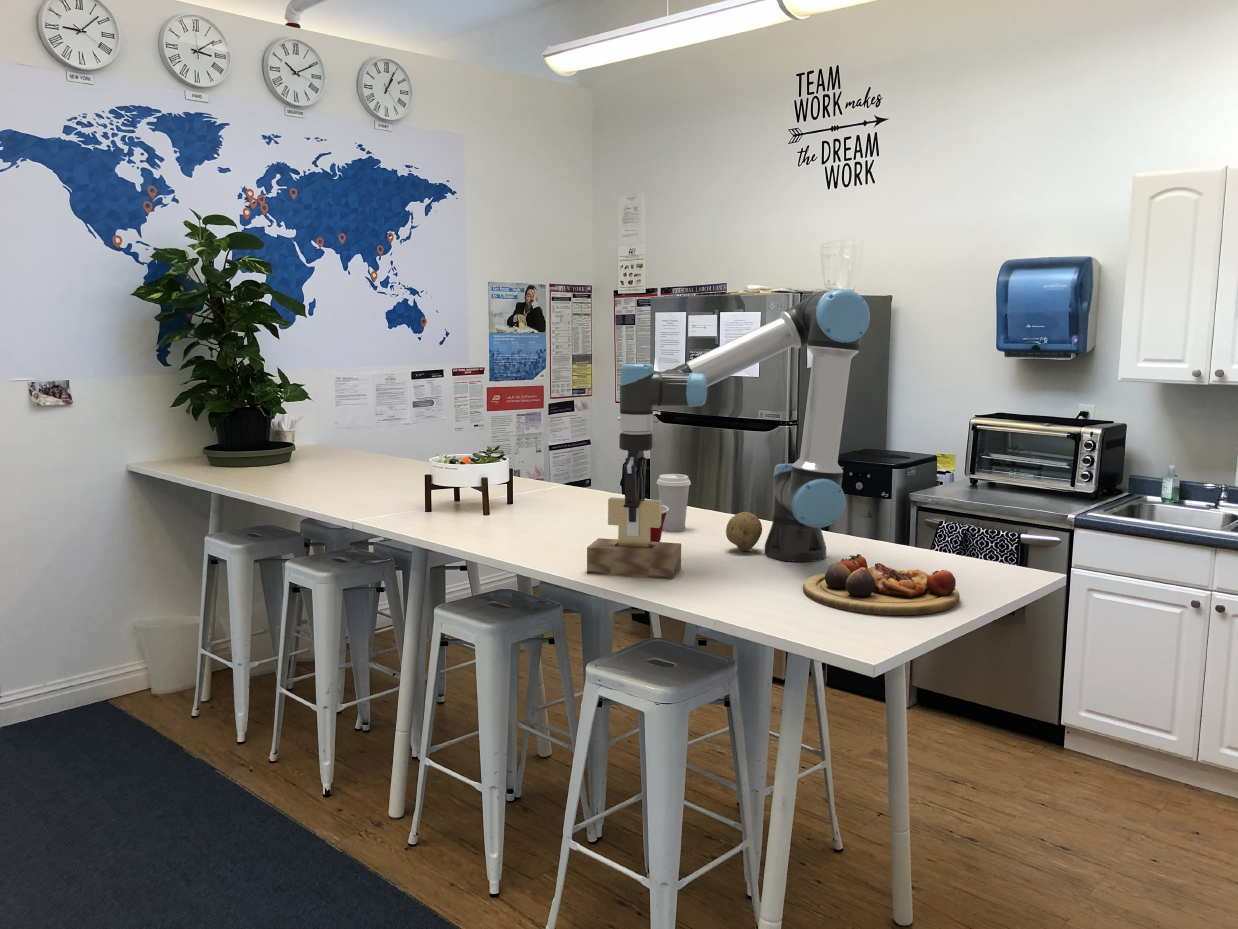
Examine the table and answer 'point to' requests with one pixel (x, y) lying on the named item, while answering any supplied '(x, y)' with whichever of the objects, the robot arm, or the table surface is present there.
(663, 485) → the coffee cup
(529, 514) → the table surface
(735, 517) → the natural sponge
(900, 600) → the wooden plate with food
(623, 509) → the light wooden block
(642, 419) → the robot arm
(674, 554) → the slotted block
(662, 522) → the plastic cup
